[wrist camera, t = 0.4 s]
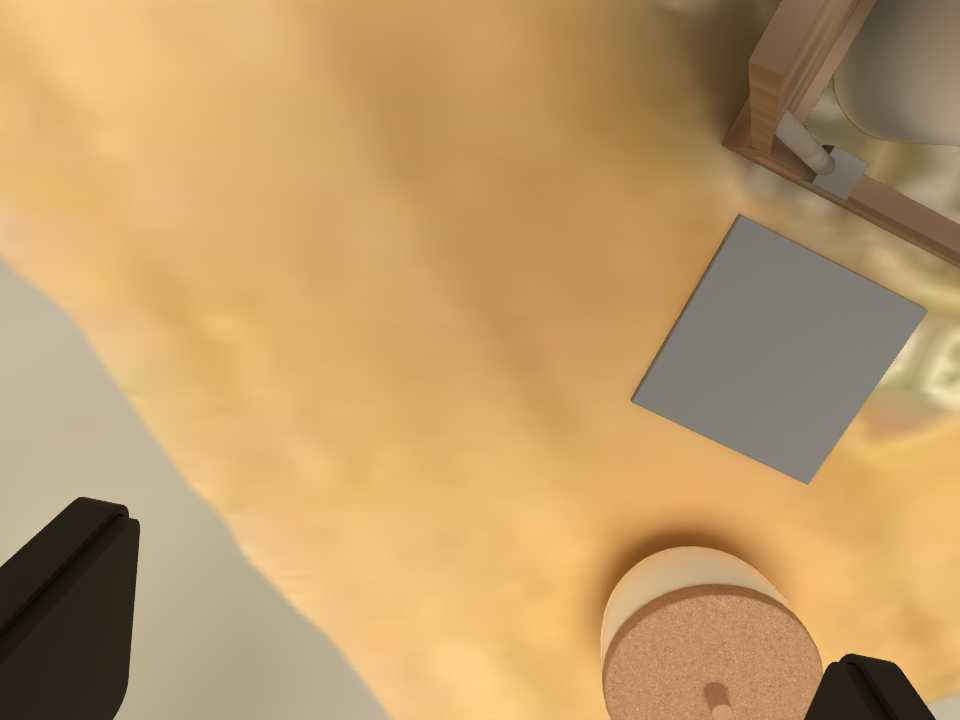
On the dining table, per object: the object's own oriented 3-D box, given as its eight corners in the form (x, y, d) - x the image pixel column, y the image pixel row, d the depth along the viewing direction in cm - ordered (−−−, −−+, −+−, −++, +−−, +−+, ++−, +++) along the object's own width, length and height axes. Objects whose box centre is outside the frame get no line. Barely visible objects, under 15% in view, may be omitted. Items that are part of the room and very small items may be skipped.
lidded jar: (597, 677, 47) (619, 810, 38) (578, 525, 44) (596, 630, 35) (774, 659, 46) (839, 790, 37) (768, 502, 43) (837, 605, 34)
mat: (738, 214, 38) (740, 215, 37) (924, 308, 39) (928, 310, 39) (630, 399, 41) (632, 402, 41) (805, 481, 42) (808, 484, 42)
